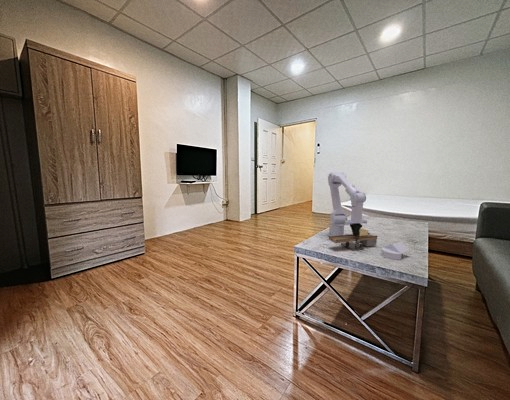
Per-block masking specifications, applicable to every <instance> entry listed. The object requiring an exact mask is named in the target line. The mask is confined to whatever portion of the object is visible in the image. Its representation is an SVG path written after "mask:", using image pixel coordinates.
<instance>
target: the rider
mask: <svg viewBox="0 0 510 400" xmlns="http://www.w3.org/2000/svg"><path fill="white" fill-rule="evenodd" d="M368 233H369V230H367V229H365V228H360V230H359V232H358V235H357V236H356V237H367V236H368Z"/></svg>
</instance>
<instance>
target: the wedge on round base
mask: <svg viewBox="0 0 510 400" xmlns="http://www.w3.org/2000/svg"><path fill="white" fill-rule="evenodd" d="M409 251H410V249H409V248H407V246H406V245H405V243H403V242H402V241H399V242H396V243H392V244H389V245H387V246H383V247H382V248H381V252H380V255H381V256H382V257H384V258H385V259H388V260H392V261H398V260H399V261H400V260H401V259H402V255H403V253H407V252H409Z"/></svg>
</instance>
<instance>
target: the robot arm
mask: <svg viewBox="0 0 510 400" xmlns="http://www.w3.org/2000/svg"><path fill="white" fill-rule="evenodd" d="M327 182H328V186H329V189H330V197H331V203H332V212H331V213H329V216H330V218H329V220H330V225H329V230H328V234H327V236H328V237H329V236H339V235H345V234H344V231H345V226H350V229H351V232H352V233H351V234H353V236H357V235H358V232H359V230H360V229H362V227H363V224H368V220H367V219H363V211H364V210H363V209H364V203H366V200H367V196H366V193H364V192H362V191H360V190H359V189H358V188H357V187H356V185H355V184H351V183H350V182H349V180H348V179H347V174H346V173H345V172H329V174H328V176H327ZM341 186H343V187H344V188H345V192H346V193H347V194H348V196H349V198H350V199H349V200H350V202H351V203H350V204H351V213H350V219H348V216H347V214H346V213H347V212H345V211H344V210H342V209H343V208H342V203H341V202H342V201H341V196H340V191H339V187H341Z"/></svg>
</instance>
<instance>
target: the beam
mask: <svg viewBox="0 0 510 400" xmlns="http://www.w3.org/2000/svg"><path fill="white" fill-rule="evenodd" d="M358 238H359V239H360V242H359V244H361V245H363V246H365V247H372V246H377V242H378V241H377V240H378V235H373V234H371V233H370V232H368V236H367V237H356V236H353V233H351V234H349V235H347V234H344V235H339V236H328V240H329V241H331V242H332V243H335V244H341V243H346V242H352V243H353V242H356V239H358Z"/></svg>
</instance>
